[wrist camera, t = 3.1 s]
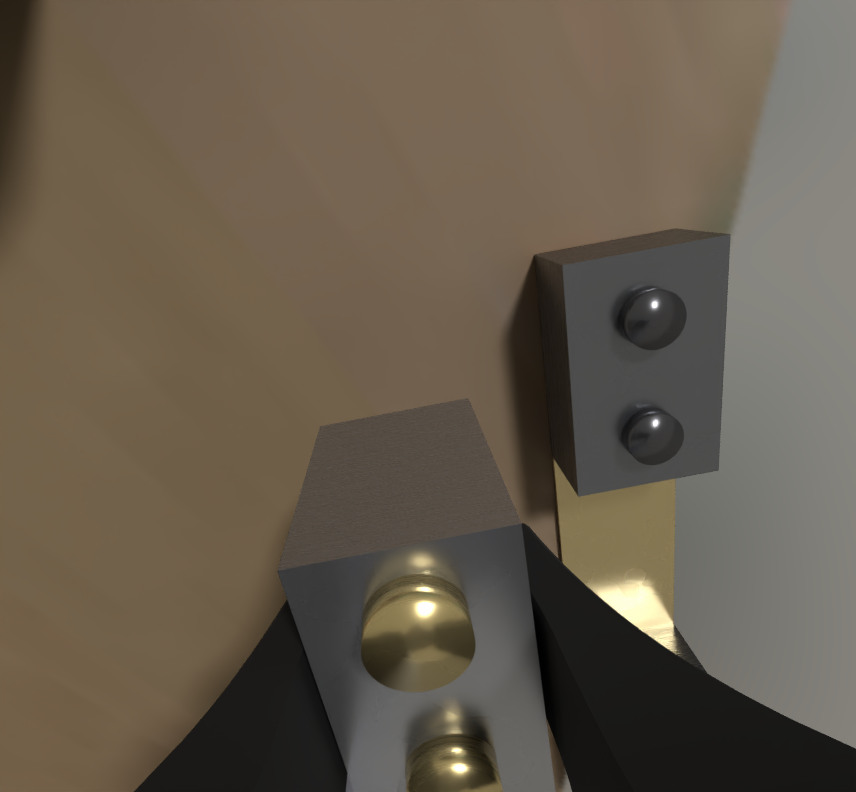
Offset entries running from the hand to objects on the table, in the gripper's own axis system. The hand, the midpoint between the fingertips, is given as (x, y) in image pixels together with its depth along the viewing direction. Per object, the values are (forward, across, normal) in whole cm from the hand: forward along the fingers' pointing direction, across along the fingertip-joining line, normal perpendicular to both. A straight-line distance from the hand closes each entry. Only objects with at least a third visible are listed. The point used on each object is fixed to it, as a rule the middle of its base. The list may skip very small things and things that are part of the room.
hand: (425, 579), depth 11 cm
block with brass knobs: (+2, 0, 0) cm, 2 cm away
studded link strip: (+9, -8, +8) cm, 14 cm away
